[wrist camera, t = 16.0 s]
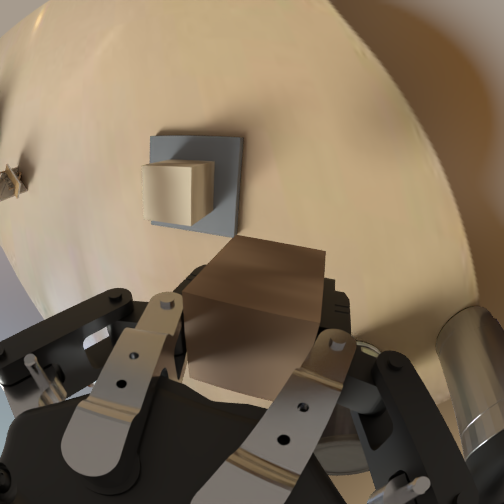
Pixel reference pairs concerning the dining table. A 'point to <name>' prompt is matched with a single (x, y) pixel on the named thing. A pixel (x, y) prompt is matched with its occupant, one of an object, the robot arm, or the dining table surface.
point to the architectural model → (11, 183)
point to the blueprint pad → (225, 176)
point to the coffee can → (343, 438)
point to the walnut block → (253, 315)
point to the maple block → (178, 191)
